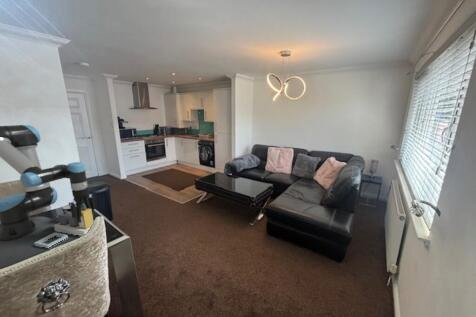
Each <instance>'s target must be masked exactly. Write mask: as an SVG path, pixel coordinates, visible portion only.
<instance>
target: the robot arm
mask: <svg viewBox="0 0 476 317" xmlns="http://www.w3.org/2000/svg"><path fill="white" fill-rule="evenodd" d="M41 138H42V137H41V135H40V132H39V131H38V130H37V128H36V127H34V126H32V125H30V124H23V125H22V124H20V125H18V124H16V125H0V159H1V160H3V161H4V162H5V163H7V165H9V166H10V167H11V168H13V169H14V170H15V171H16V172H17V173H18V174H20V177H19V178H20V182H21V184H22V185H23V187H26V189H25V190H24V192H25V194H24V193H15V194H10V195H6V196H5V197H2V198H0V240H1V241H12V240H16V239H20V238H23V237H26V236H27V235H29V234H32V233H33V232H35V231H36V230H37V224H36V223H35V221H34V220H33V219H32V218H31V216H30V213H33V212H35V211H38V210H41V209H44V208H46V207H49V206H51V205H53V204H55V203H56V202H57V200H58V192H57V190H56V189H55V188H54V187H52V186H51V185H50V184H48V183H50V182H54V181H55V182H56V181H59V180H61V179H62V180H63V179H69V184H70V188H71V193H72V196H73V200H72V201H71V202H68V204H69V205H70V208H71V213H72V218H77V222H78V223H79V226H80V227H84V223H83V217H81V209H82V206H84V207H85V208H89V209H91V210H92V215H93V216H94V212H95V210H96V204H95V194H94V193H93V194H92V193H90V191H89V187H88V186H89V184H88V181H87V174H86V168H85V164H84V163H83V162H81V161H79V162H78V161H77V162H71V163H67V164H56V165H54V166H53V167H49V168H43V169H42V167H41V163H40V160H39V159H40V158H39V156H38V153H37V149H36V148H37V147H38V143H40V142H41ZM75 203H76V206H77V207H76V206H75ZM83 204H84V205H83Z"/></svg>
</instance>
